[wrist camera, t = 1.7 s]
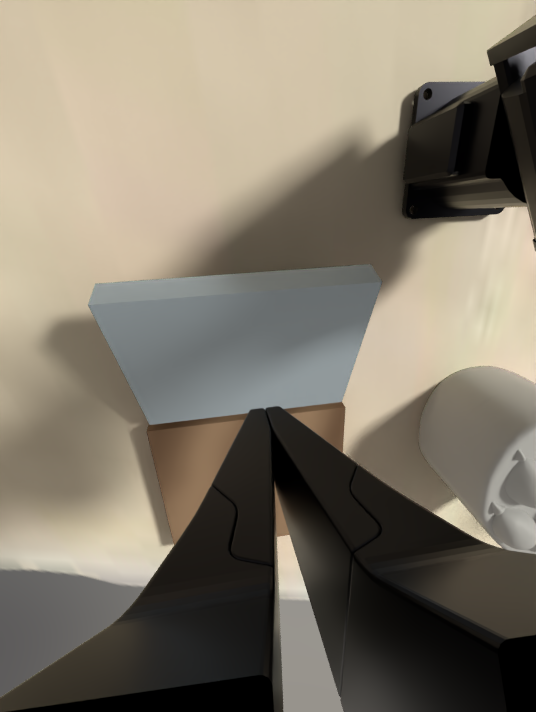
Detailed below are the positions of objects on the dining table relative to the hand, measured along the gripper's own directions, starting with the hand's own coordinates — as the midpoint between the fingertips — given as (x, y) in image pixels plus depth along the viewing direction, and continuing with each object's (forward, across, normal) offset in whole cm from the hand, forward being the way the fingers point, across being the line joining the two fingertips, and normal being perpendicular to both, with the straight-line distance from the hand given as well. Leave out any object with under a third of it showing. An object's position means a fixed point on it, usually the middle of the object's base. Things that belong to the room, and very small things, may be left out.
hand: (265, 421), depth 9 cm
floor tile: (+10, 0, +2) cm, 10 cm away
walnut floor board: (+12, 0, +13) cm, 18 cm away
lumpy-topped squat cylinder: (+13, -20, +12) cm, 26 cm away
